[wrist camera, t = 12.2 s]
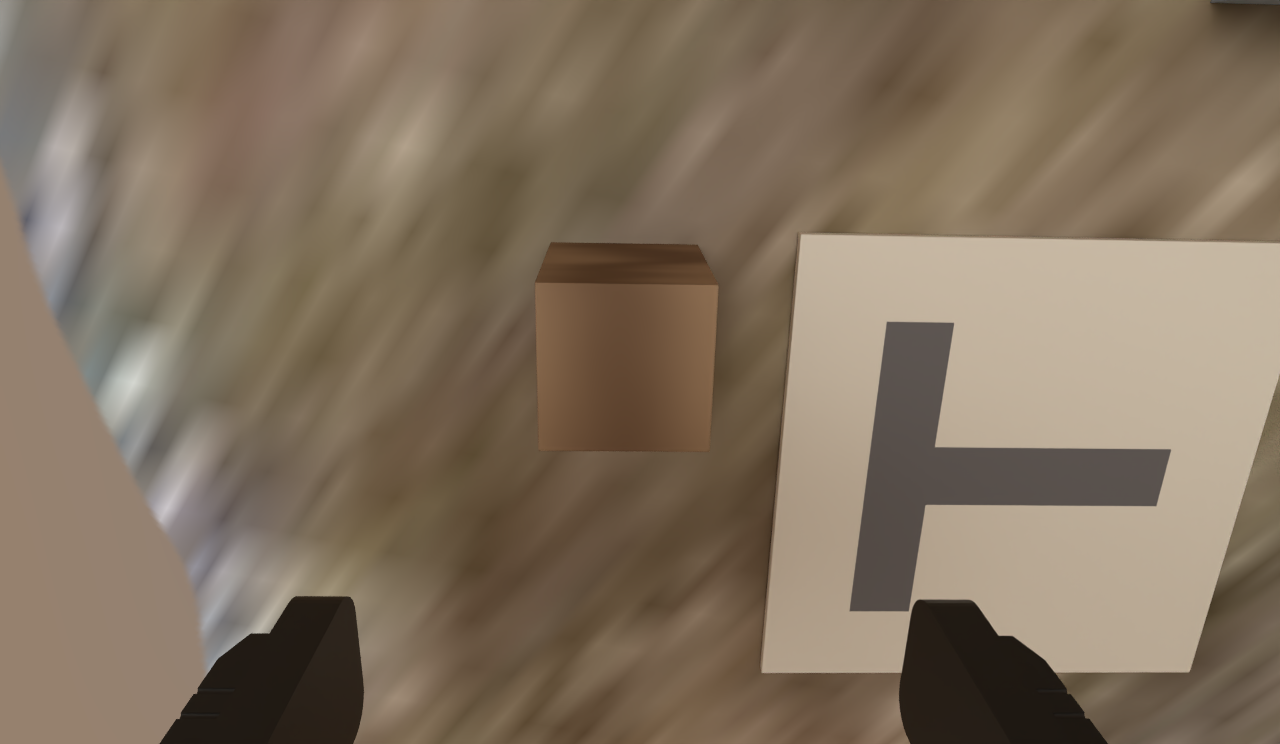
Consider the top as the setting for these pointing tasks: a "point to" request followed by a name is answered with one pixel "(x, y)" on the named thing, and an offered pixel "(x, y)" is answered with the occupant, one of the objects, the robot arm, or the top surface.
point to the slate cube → (1248, 1)
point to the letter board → (1015, 442)
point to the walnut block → (625, 347)
